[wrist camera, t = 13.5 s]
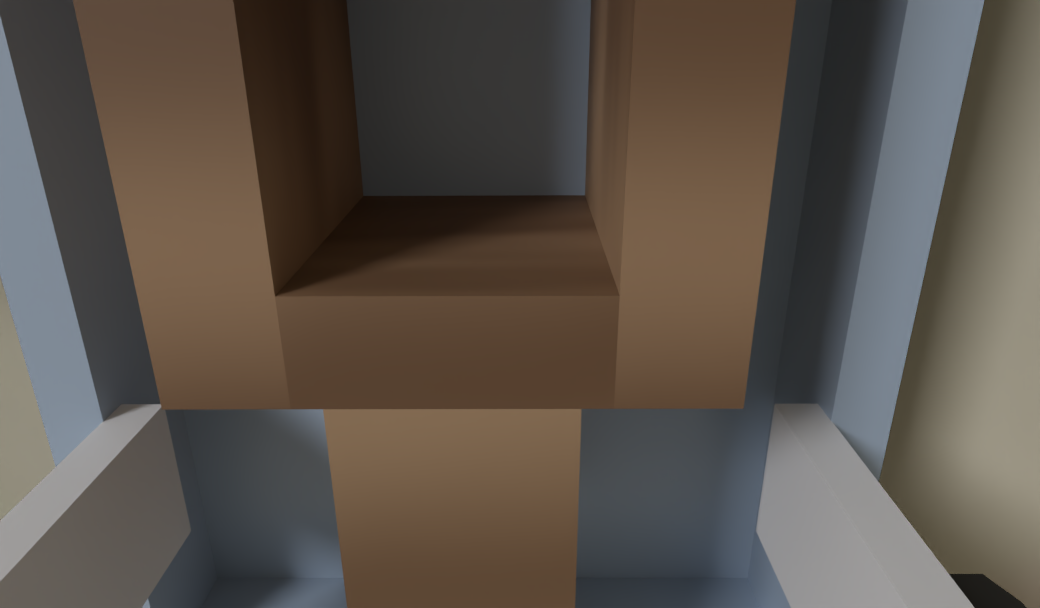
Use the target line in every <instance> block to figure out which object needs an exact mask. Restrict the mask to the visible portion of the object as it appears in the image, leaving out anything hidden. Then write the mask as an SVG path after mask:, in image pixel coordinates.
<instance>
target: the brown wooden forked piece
mask: <svg viewBox="0 0 1040 608" xmlns="http://www.w3.org/2000/svg"><path fill="white" fill-rule="evenodd" d="M73 4H74V8H75V13H76V17H77V22H78V27H79V31H80V36H81V40H82V45H83V50H84V54H85V59H86V63H87V68H88V73H89V77H90V82H91V86H92V91H93V96H94V100H95V105H96V109H97V114H98V119H99V123H100V128H101V132H102V137H103V142H104V146H105V151H106V155H107V160H108V165H109V169H110V174H111V178H112V183H113V188H114V192H115V197H116V201H117V206H118V211H119V215H120V220H121V224H122V229H123V233H124V238H125V243H126V247H127V252H128V256H129V261H130V266H131V270H132V275H133V279H134V284H135V289H136V293H137V298H138V302H139V307H140V312H141V316H142V321H143V325H144V330H145V335H146V339H147V344H148V348H149V353H150V358H151V362H152V367H153V371H154V376H155V381H156V385H157V390H158V394H159V399H160V404H161V408H162V410H222V409H323V414H324V422H325V430H326V438H327V446H328V455H329V463H330V471H331V479H332V488H333V496H334V504H335V512H336V521H337V529H338V537H339V545H340V553H341V562H342V570H343V578H344V586H345V595H346V603H347V608H575V595H576V564H577V533H578V503H579V472H580V441H581V410H582V409H744V401H745V394H746V386H747V378H748V370H749V363H750V355H751V347H752V339H753V332H754V324H755V316H756V308H757V301H758V293H759V285H760V277H761V269H762V262H763V254H764V246H765V238H766V231H767V223H768V215H769V207H770V200H771V192H772V184H773V176H774V169H775V161H776V153H777V145H778V138H779V130H780V122H781V114H782V107H783V99H784V91H785V83H786V76H787V68H788V60H789V52H790V45H791V37H792V29H793V21H794V13H795V6H796V0H591V14H590V47H589V79H588V112H587V145H586V177H585V195H507V196H363V185H362V173H361V162H360V150H359V139H358V127H357V116H356V104H355V92H354V81H353V69H352V58H351V46H350V35H349V23H348V11H347V0H73Z"/></svg>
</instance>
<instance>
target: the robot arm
mask: <svg viewBox="0 0 1040 608" xmlns="http://www.w3.org/2000/svg"><path fill="white" fill-rule="evenodd" d="M190 532H191V528H190V523H189V518H188V514H187V509H186V504H185V500H184V495H183V490H182V486H181V481H180V476H179V472H178V467H177V462H176V458H175V453H174V448H173V444H172V439H171V434H170V430H169V425H168V420H167V416H166V411H165V410H162V408H161V404H121V405H120V406H119V407H118V408H117V409H116V410H115V411H114V412H113V413H112V414H111V415H110V416H109V417H108V418H107V419H106V420H105V421H104V422H102V423H101V424H100V425H99V426H98V427H97V428H96V429H95V430H94V431H92V432H91V433H90V434H89V435H88V436H87V437H86V438H85V439H84V440H83V441H82V442H81V443H80V444H79V445H78V446H77V447H76V448H75V449H74V450H73V451H72V452H71V453H70V454H69V455H68V456H67V457H66V458H65V459H64V460H62V461H61V462H60V463H59V464H58V465H57V466H56V467H55V468H54V469H53V470H52V471H51V472H50V473H49V474H48V475H47V476H46V477H45V478H44V479H43V480H42V481H41V482H40V483H39V484H38V485H37V486H36V487H35V488H34V489H32V490H31V491H30V492H29V493H28V494H27V495H26V496H25V497H24V498H23V499H22V500H21V501H20V502H19V503H18V504H17V505H16V506H15V507H14V508H13V509H12V510H11V511H10V512H9V513H8V514H7V515H6V516H5V517H4V518H2V519H1V520H0V608H142V607H143V605H144V604H145V602H146V600H147V599H148V597H149V596H150V594H151V593H152V591H153V590H154V588H155V586H156V585H157V583H158V582H159V580H160V579H161V577H162V576H163V574H164V572H165V571H166V569H167V568H168V566H169V565H170V563H171V562H172V560H173V558H174V557H175V555H176V554H177V552H178V551H179V549H180V548H181V546H182V545H183V543H184V541H185V540H186V538H187V537H188V535H189V534H190ZM756 532H757V534H758V536H759V539H760V541H761V543H762V545H763V547H764V550H765V552H766V554H767V556H768V558H769V561H770V563H771V565H772V567H773V569H774V572H775V574H776V576H777V578H778V580H779V582H780V585H781V587H782V589H783V591H784V593H785V596H786V598H787V600H788V602H789V604H790V607H791V608H1026V607H1025V606H1024V604H1023V603H1022V602H1020V601H1019V600H1018V599H1016V598H1015V597H1013V596H1012V595H1011V594H1009V593H1008V592H1006V591H1005V590H1004V589H1002V588H1001V587H1000V586H998V585H997V584H995V583H994V582H993V581H991V580H990V579H989V578H987V577H986V576H984V575H983V574H948V572H947V571H946V570H945V568H944V567H943V566H942V564H941V563H940V562H939V561H938V559H937V558H936V557H935V555H934V554H933V553H932V551H931V550H930V549H929V547H928V546H927V545H926V544H925V542H924V541H923V540H922V538H921V537H920V536H919V534H918V533H917V532H916V530H915V529H914V528H913V527H912V525H911V524H910V523H909V521H908V520H907V519H906V517H905V516H904V515H903V513H902V512H901V511H900V510H899V508H898V507H897V506H896V504H895V503H894V502H893V500H892V499H891V498H890V496H889V495H888V494H887V493H886V491H885V490H884V489H883V487H882V486H881V485H880V483H879V482H878V481H877V479H876V478H875V477H874V476H873V474H872V473H871V472H870V470H869V469H868V468H867V466H866V465H865V464H864V462H863V461H862V460H861V459H860V457H859V456H858V455H857V453H856V452H855V451H854V449H853V448H852V447H851V445H850V444H849V443H848V442H847V440H846V439H845V438H844V436H843V435H842V434H841V432H840V431H839V430H838V428H837V427H836V426H835V425H834V423H833V422H832V421H831V420H830V419H829V418H828V416H827V415H826V414H825V412H824V411H823V410H822V408H821V407H820V406H819V405H818V404H775V405H774V412H773V419H772V426H771V432H770V439H769V446H768V453H767V460H766V466H765V473H764V480H763V487H762V493H761V500H760V507H759V514H758V520H757V527H756Z"/></svg>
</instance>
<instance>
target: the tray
mask: <svg viewBox="0 0 1040 608" xmlns="http://www.w3.org/2000/svg"><path fill="white" fill-rule="evenodd" d="M983 5H984V0H796V6H795V13H794V21H793V29H792V37H791V45H790V52H789V60H788V68H787V76H786V83H785V91H784V99H783V107H782V114H781V122H780V130H779V138H778V145H777V153H776V161H775V169H774V176H773V184H772V192H771V200H770V207H769V215H768V223H767V231H766V238H765V246H764V254H763V262H762V269H761V277H760V285H759V293H758V301H757V308H756V316H755V324H754V332H753V339H752V347H751V355H750V363H749V370H748V378H747V386H746V394H745V401H744V409H582V410H581V441H580V472H579V503H578V533H577V564H576V595H575V608H791V607H790V604H789V602H788V600H787V598H786V596H785V593H784V591H783V589H782V587H781V585H780V582H779V580H778V578H777V576H776V574H775V572H774V569H773V567H772V565H771V563H770V561H769V558H768V556H767V554H766V552H765V550H764V547H763V545H762V543H761V541H760V539H759V536H758V534H757V532H756V527H757V520H758V514H759V507H760V500H761V493H762V487H763V480H764V473H765V466H766V460H767V453H768V446H769V439H770V432H771V426H772V419H773V412H774V405H775V404H818V405H819V406H820V407H821V408H822V410H823V411H824V412H825V414H826V415H827V416H828V418H829V419H830V420H831V421H832V422H833V423H834V425H835V426H836V427H837V428H838V430H839V431H840V432H841V434H842V435H843V436H844V438H845V439H846V440H847V442H848V443H849V444H850V445H851V447H852V448H853V449H854V451H855V452H856V453H857V455H858V456H859V457H860V459H861V460H862V461H863V462H864V464H865V465H866V466H867V468H868V469H869V470H870V472H871V473H872V474H873V476H874V477H875V478H876V479H877V481H878V482H879V478H880V474H881V469H882V465H883V460H884V456H885V451H886V446H887V442H888V437H889V433H890V428H891V424H892V419H893V415H894V410H895V405H896V401H897V396H898V392H899V387H900V383H901V378H902V374H903V369H904V364H905V360H906V355H907V351H908V346H909V342H910V337H911V333H912V328H913V323H914V319H915V314H916V310H917V305H918V301H919V296H920V292H921V287H922V282H923V278H924V273H925V269H926V264H927V260H928V255H929V251H930V246H931V242H932V237H933V232H934V228H935V223H936V219H937V214H938V210H939V205H940V201H941V196H942V191H943V187H944V182H945V178H946V173H947V169H948V164H949V160H950V155H951V150H952V146H953V141H954V137H955V132H956V128H957V123H958V119H959V114H960V109H961V105H962V100H963V96H964V91H965V87H966V82H967V78H968V73H969V68H970V64H971V59H972V55H973V50H974V46H975V41H976V37H977V32H978V27H979V23H980V18H981V14H982V9H983ZM347 11H348V23H349V35H350V46H351V58H352V69H353V81H354V92H355V104H356V116H357V127H358V139H359V150H360V162H361V173H362V185H363V196H507V195H585V177H586V145H587V112H588V79H589V47H590V14H591V0H347ZM0 276H1V279H2V283H3V286H4V290H5V293H6V296H7V300H8V303H9V307H10V310H11V314H12V317H13V321H14V324H15V327H16V331H17V334H18V338H19V341H20V345H21V348H22V352H23V355H24V359H25V362H26V365H27V369H28V372H29V376H30V379H31V383H32V386H33V390H34V393H35V396H36V400H37V403H38V407H39V410H40V414H41V417H42V421H43V424H44V428H45V431H46V434H47V438H48V441H49V445H50V448H51V452H52V455H53V459H54V462H55V465H56V466H57V465H58V464H59V463H60V462H61V461H62V460H64V459H65V458H66V457H67V456H68V455H69V454H70V453H71V452H72V451H73V450H74V449H75V448H76V447H77V446H78V445H79V444H80V443H81V442H82V441H83V440H84V439H85V438H86V437H87V436H88V435H89V434H90V433H91V432H92V431H94V430H95V429H96V428H97V427H98V426H99V425H100V424H101V423H102V422H104V421H105V420H106V419H107V418H108V417H109V416H110V415H111V414H112V413H113V412H114V411H115V410H116V409H117V408H118V407H119V406H120V405H121V404H160V399H159V394H158V390H157V385H156V381H155V376H154V371H153V367H152V362H151V358H150V353H149V348H148V344H147V339H146V335H145V330H144V325H143V321H142V316H141V312H140V307H139V302H138V298H137V293H136V289H135V284H134V279H133V275H132V270H131V266H130V261H129V256H128V252H127V247H126V243H125V238H124V233H123V229H122V224H121V220H120V215H119V211H118V206H117V201H116V197H115V192H114V188H113V183H112V178H111V174H110V169H109V165H108V160H107V155H106V151H105V146H104V142H103V137H102V132H101V128H100V123H99V119H98V114H97V109H96V105H95V100H94V96H93V91H92V86H91V82H90V77H89V73H88V68H87V63H86V59H85V54H84V50H83V45H82V40H81V36H80V31H79V27H78V22H77V17H76V13H75V8H74V4H73V0H0ZM165 411H166V416H167V420H168V425H169V430H170V434H171V439H172V444H173V448H174V453H175V458H176V462H177V467H178V472H179V476H180V481H181V486H182V490H183V495H184V500H185V504H186V509H187V514H188V518H189V523H190V528H191V532H190V534H189V535H188V537H187V538H186V540H185V541H184V543H183V545H182V546H181V548H180V549H179V551H178V552H177V554H176V555H175V557H174V558H173V560H172V562H171V563H170V565H169V566H168V568H167V569H166V571H165V572H164V574H163V576H162V577H161V579H160V580H159V582H158V583H157V585H156V586H155V588H154V590H153V591H152V593H151V594H150V596H149V597H148V599H147V600H146V602H145V604H144V605H143V607H142V608H347V603H346V595H345V586H344V578H343V570H342V562H341V553H340V545H339V537H338V529H337V521H336V512H335V504H334V496H333V488H332V479H331V471H330V463H329V455H328V446H327V438H326V430H325V422H324V414H323V409H222V410H165Z"/></svg>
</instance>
